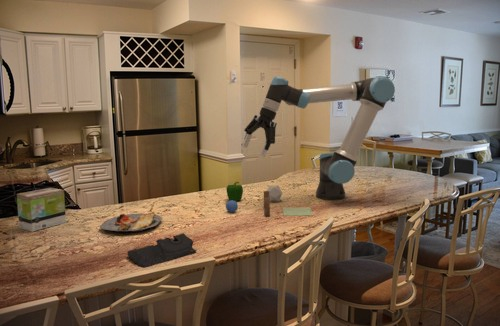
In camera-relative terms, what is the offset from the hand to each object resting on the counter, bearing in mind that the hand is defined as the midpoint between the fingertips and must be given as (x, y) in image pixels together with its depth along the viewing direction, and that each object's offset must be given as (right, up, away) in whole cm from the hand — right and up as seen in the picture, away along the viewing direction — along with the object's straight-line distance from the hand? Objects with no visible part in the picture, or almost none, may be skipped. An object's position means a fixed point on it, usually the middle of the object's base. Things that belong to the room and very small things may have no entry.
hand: (253, 151), depth 191 cm
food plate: (-50, -32, -24) cm, 64 cm away
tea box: (-88, -32, -22) cm, 96 cm away
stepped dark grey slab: (-31, -37, -54) cm, 73 cm away
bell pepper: (-9, -25, +15) cm, 30 cm away
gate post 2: (+6, -29, -13) cm, 32 cm away
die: (+11, -25, +13) cm, 30 cm away
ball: (-10, -25, -6) cm, 28 cm away
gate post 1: (+6, -27, 0) cm, 28 cm away
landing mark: (+20, -28, -7) cm, 35 cm away
